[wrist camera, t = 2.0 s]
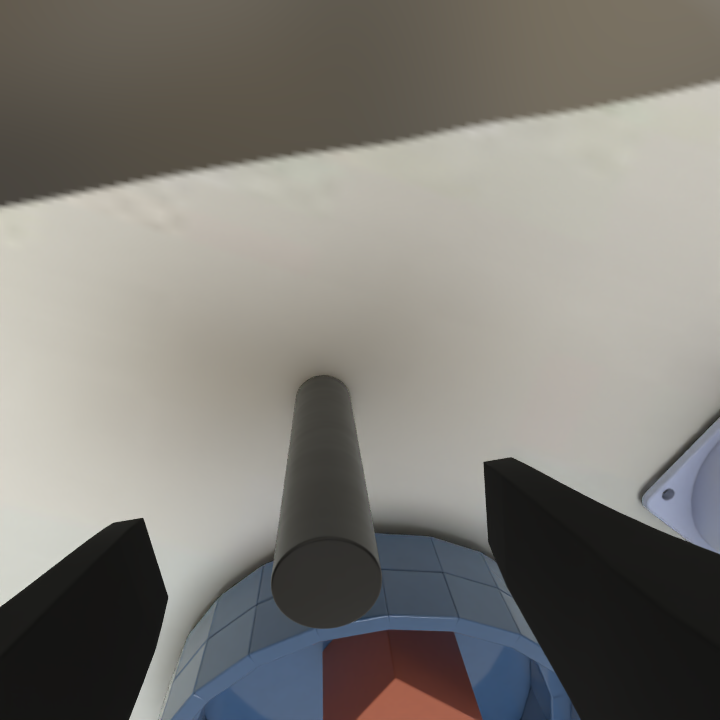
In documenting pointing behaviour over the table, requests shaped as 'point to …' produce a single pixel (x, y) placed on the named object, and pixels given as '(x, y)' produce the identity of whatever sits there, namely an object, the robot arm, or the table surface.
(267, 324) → the table surface
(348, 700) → the terracotta block
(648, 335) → the table surface
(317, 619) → the dark grey rod
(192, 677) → the bowl
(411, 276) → the table surface
